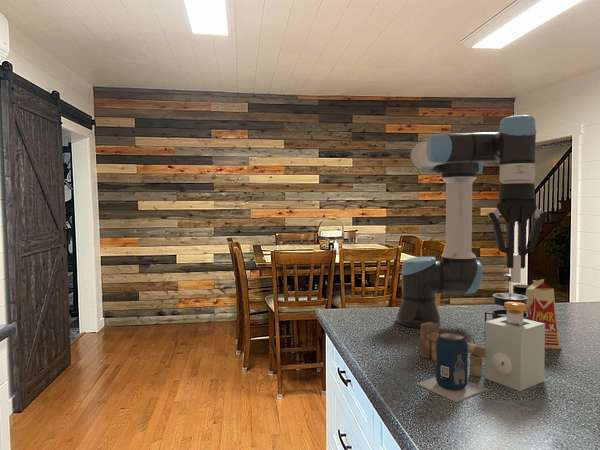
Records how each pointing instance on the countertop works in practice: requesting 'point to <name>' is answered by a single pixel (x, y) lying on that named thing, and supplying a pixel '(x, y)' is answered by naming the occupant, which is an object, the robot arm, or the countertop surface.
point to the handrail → (429, 348)
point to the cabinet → (514, 353)
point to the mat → (455, 396)
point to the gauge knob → (515, 313)
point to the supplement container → (520, 289)
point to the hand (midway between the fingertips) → (515, 281)
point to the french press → (506, 297)
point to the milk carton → (543, 311)
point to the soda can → (451, 361)
